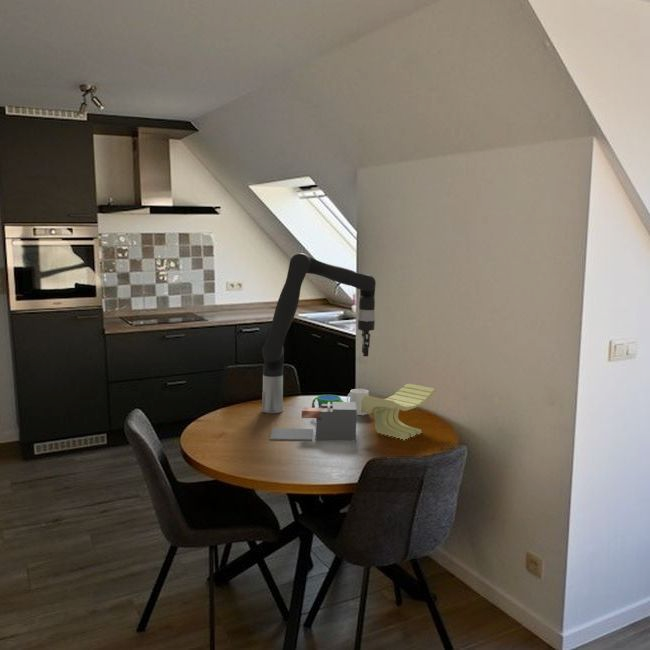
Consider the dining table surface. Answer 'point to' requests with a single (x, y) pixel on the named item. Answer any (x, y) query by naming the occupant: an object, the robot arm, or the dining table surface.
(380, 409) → the slatted curved stool
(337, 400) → the snack cup
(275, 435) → the mat
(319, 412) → the copper bar
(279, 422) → the dining table surface
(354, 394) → the mug
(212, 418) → the dining table surface
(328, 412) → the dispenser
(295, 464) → the dining table surface
